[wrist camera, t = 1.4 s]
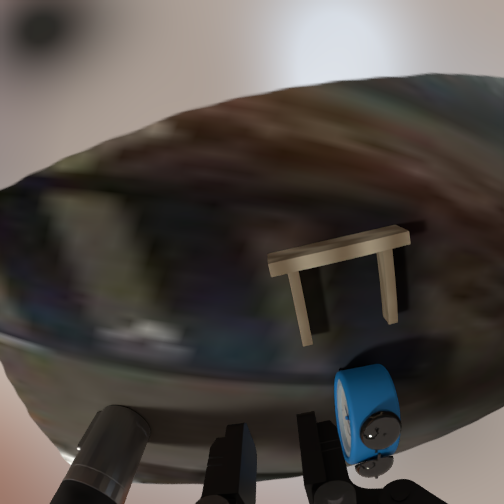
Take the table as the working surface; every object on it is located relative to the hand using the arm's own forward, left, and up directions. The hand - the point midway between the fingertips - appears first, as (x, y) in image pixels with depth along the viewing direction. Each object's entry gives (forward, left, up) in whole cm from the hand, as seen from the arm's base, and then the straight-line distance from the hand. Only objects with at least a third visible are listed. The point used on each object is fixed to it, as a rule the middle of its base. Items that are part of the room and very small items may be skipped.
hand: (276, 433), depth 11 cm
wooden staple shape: (+8, -6, -27) cm, 29 cm away
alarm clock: (+8, -22, -27) cm, 36 cm away
